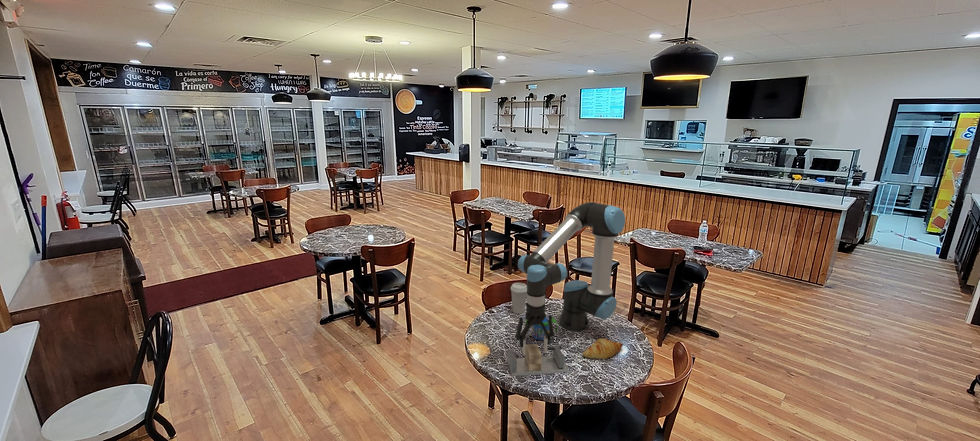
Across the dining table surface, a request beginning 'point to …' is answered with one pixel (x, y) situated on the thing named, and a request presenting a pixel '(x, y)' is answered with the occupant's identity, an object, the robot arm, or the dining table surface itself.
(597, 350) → the croissant
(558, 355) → the sliding jaw
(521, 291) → the coffee cup
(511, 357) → the fixed jaw
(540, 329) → the snack cup
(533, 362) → the block
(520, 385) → the dining table surface
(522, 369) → the vise bed
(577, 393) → the dining table surface
